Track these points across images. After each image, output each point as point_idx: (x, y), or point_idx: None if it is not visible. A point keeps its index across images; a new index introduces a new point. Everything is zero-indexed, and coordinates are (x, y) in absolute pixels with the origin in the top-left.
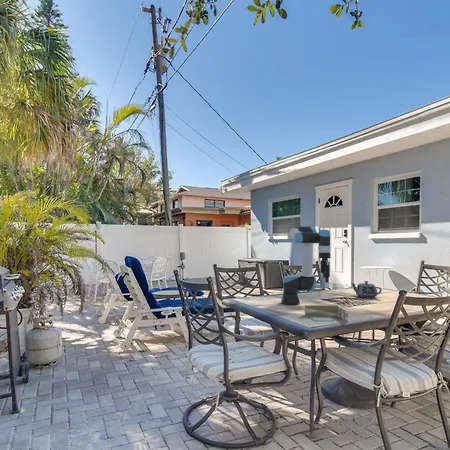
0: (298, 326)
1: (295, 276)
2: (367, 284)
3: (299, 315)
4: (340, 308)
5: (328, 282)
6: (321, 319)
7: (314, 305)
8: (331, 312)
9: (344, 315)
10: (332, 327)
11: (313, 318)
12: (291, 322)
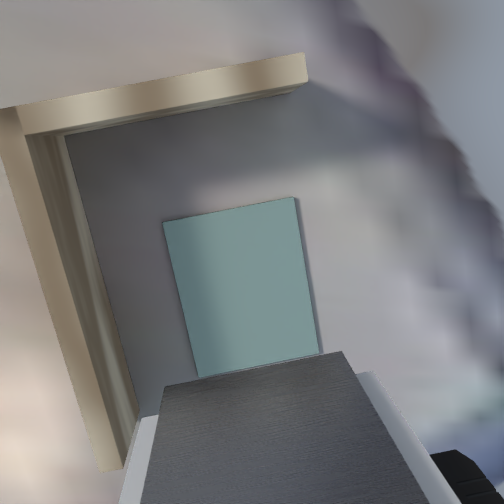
0: (489, 453)
1: None
2: None
3: None
4: (145, 113)
5: (413, 437)
6: (270, 294)
7: (93, 384)
8: (69, 195)
9: (267, 93)
10: (496, 231)
11: (248, 354)
12: None
